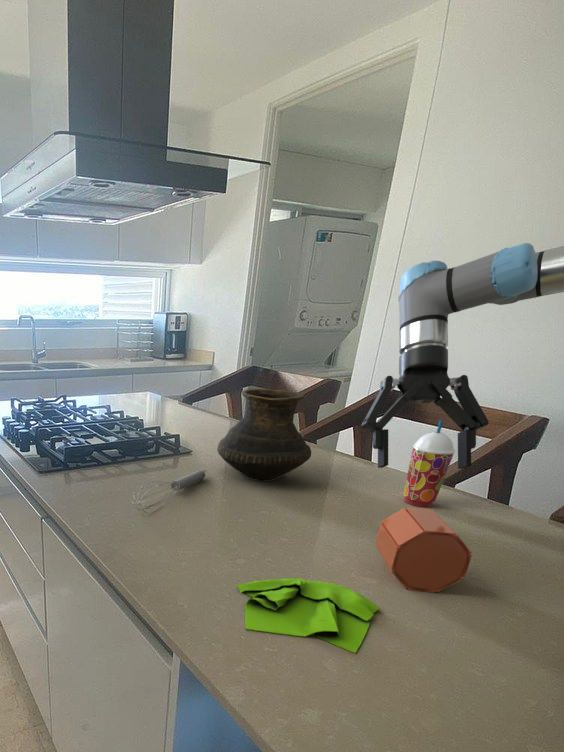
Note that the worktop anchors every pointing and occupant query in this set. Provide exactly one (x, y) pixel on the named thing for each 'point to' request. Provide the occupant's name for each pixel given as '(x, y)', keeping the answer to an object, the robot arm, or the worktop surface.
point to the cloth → (308, 610)
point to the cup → (422, 550)
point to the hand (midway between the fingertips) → (423, 467)
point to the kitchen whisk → (176, 485)
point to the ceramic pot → (266, 436)
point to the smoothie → (428, 468)
